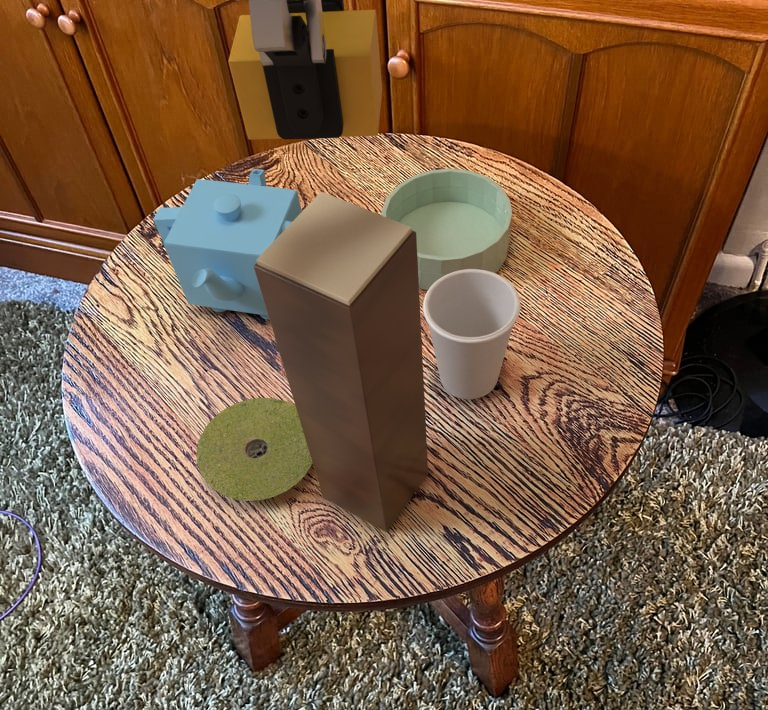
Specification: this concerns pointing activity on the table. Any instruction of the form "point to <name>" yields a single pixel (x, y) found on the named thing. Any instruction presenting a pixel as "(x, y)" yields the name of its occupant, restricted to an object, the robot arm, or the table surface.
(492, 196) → the bowl
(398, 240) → the stand
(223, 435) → the mat
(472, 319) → the dixie cup
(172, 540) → the table surface
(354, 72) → the yellow rectangular block
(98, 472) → the table surface
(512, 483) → the table surface
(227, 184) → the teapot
